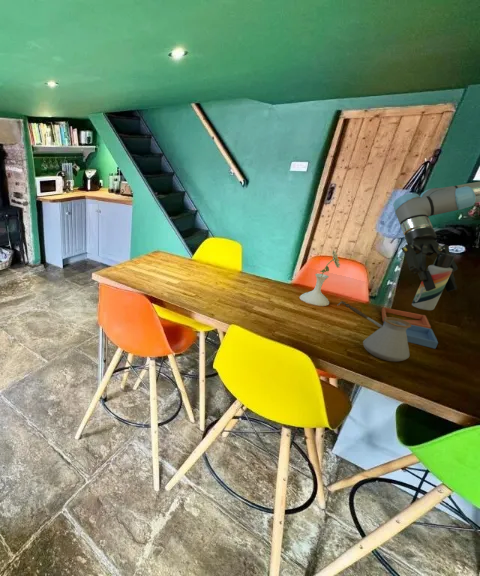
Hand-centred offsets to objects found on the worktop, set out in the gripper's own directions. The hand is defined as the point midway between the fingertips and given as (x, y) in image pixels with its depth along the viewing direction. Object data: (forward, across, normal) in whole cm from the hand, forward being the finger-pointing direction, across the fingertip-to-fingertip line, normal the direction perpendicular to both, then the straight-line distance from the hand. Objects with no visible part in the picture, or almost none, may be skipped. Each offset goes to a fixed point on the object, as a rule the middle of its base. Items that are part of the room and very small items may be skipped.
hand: (441, 289), depth 102 cm
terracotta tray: (+4, -6, -24) cm, 25 cm away
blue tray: (+12, +2, -16) cm, 20 cm away
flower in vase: (-7, +20, -36) cm, 42 cm away
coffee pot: (+20, +24, -8) cm, 33 cm away
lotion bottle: (+3, 0, -9) cm, 9 cm away
